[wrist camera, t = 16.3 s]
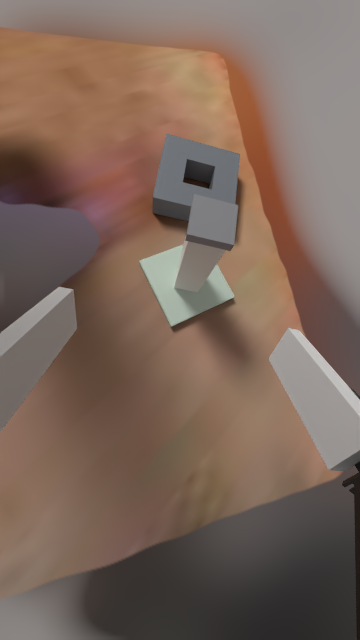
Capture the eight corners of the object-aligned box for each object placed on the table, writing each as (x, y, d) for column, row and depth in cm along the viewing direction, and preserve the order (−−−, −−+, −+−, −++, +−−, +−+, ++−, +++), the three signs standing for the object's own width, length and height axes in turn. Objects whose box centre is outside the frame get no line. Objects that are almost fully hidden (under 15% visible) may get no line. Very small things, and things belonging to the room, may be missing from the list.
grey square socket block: (152, 212, 35) (152, 197, 32) (165, 153, 38) (166, 133, 35) (226, 230, 37) (234, 216, 33) (232, 171, 40) (240, 154, 36)
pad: (139, 263, 33) (139, 260, 32) (200, 240, 35) (202, 237, 34) (170, 327, 31) (171, 326, 30) (232, 298, 34) (234, 296, 33)
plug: (171, 289, 31) (187, 234, 18) (176, 263, 32) (193, 193, 19) (199, 294, 32) (234, 245, 18) (202, 269, 33) (238, 205, 19)
